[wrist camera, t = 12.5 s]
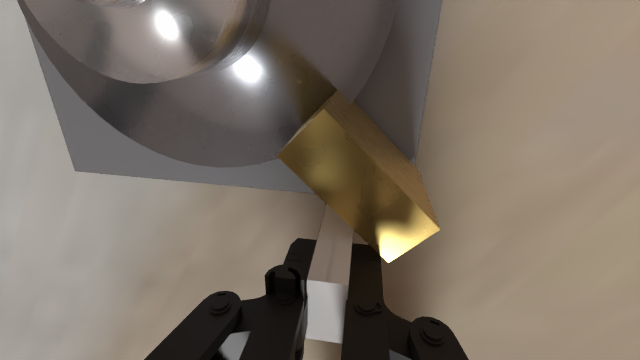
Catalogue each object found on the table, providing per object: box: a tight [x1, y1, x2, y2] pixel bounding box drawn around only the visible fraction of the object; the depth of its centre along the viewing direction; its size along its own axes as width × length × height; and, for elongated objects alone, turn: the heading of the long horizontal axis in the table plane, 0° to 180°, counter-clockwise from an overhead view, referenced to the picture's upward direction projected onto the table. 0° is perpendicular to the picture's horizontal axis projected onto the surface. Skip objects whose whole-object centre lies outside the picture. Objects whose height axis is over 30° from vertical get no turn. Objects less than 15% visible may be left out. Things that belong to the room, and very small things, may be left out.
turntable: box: [17, 0, 440, 263], centre depth 12 cm, size 18×23×6 cm
